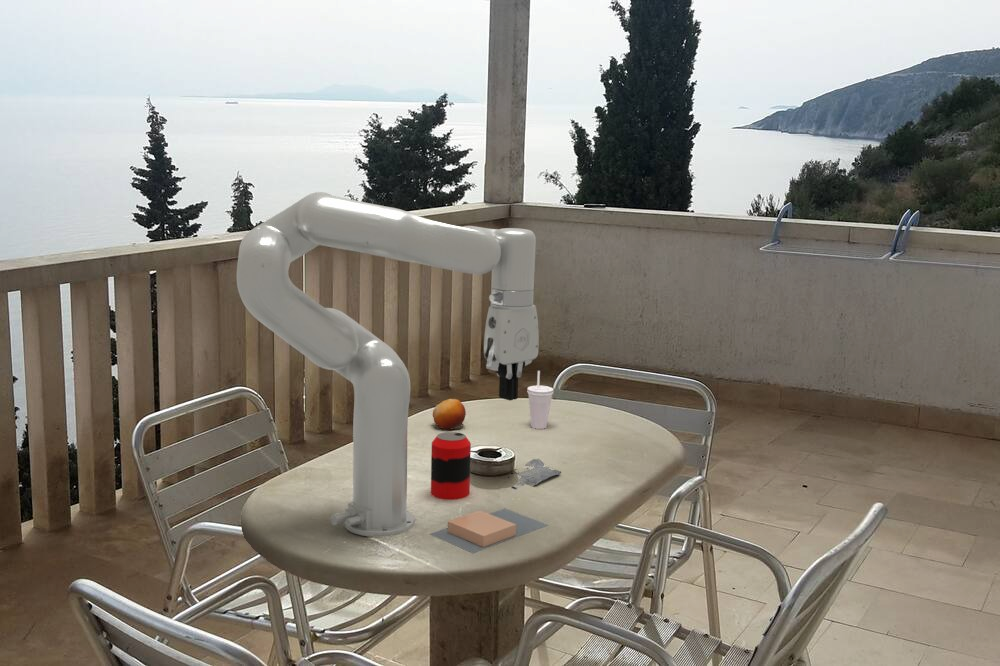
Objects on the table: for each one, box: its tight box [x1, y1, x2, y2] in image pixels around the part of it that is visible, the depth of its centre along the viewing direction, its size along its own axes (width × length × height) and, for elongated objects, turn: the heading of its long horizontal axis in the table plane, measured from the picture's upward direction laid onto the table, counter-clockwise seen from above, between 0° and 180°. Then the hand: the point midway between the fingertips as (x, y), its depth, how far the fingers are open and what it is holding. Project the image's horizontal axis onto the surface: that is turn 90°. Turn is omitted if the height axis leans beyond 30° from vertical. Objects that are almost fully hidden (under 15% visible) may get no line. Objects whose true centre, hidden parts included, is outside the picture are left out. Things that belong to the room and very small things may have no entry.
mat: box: [429, 508, 549, 554], centre depth 179 cm, size 19×11×1 cm, turn 136°
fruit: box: [432, 398, 467, 431], centre depth 243 cm, size 8×8×8 cm
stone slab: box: [511, 458, 561, 490], centre depth 210 cm, size 18×2×10 cm
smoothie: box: [526, 370, 554, 430], centre depth 245 cm, size 6×6×14 cm
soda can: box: [430, 431, 472, 501], centre depth 196 cm, size 8×8×12 cm
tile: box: [447, 509, 516, 547], centre depth 177 cm, size 2×9×8 cm
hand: (508, 398), depth 183 cm, fingers closed
